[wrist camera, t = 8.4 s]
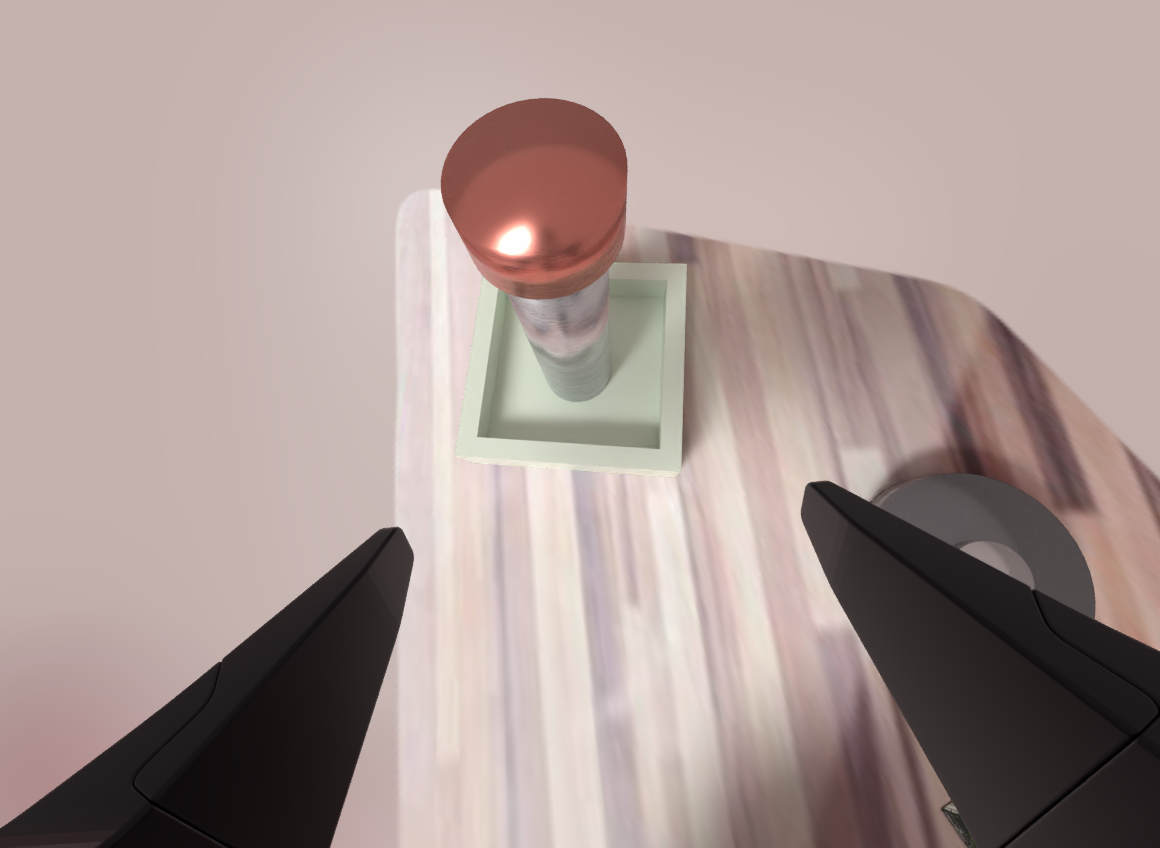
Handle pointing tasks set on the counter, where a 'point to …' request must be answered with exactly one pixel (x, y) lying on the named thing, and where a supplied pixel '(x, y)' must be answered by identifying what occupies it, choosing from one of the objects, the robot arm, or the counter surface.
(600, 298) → the pin
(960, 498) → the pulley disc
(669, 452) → the tray
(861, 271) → the counter surface
